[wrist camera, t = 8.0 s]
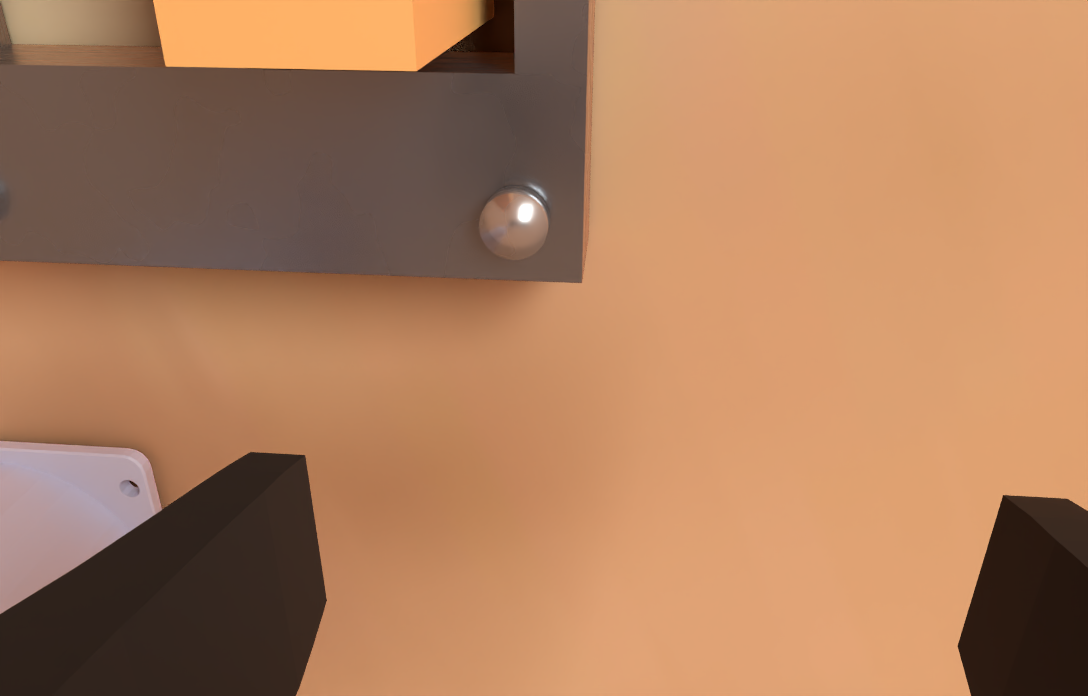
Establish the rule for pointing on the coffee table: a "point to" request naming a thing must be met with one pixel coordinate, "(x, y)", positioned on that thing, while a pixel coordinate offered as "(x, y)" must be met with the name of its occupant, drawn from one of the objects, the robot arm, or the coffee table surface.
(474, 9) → the orange rectangular block
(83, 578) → the robot arm
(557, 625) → the coffee table surface
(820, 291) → the coffee table surface
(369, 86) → the grey mounting plate
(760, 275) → the coffee table surface
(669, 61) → the coffee table surface
